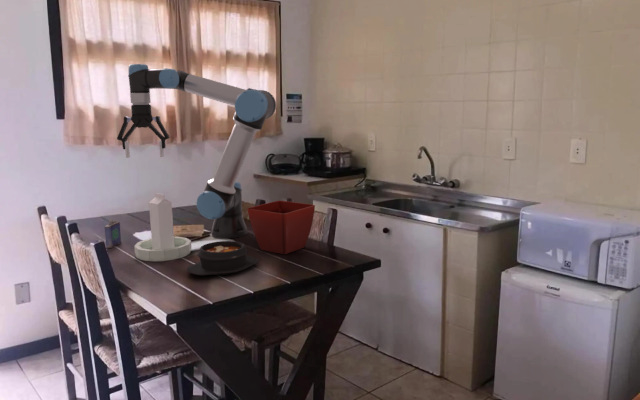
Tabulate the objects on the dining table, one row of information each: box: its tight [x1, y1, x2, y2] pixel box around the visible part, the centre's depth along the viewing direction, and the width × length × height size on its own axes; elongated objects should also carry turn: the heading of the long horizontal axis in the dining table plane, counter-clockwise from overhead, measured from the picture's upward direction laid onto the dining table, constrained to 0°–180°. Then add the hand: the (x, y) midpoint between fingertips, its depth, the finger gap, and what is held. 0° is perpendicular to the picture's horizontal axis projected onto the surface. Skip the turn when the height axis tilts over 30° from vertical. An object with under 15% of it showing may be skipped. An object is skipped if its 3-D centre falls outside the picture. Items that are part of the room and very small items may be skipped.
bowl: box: [133, 236, 192, 262], centre depth 200 cm, size 20×20×4 cm
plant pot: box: [247, 200, 316, 255], centre depth 203 cm, size 19×19×17 cm
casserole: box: [186, 240, 260, 277], centre depth 179 cm, size 25×19×8 cm
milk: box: [148, 192, 175, 250], centre depth 198 cm, size 6×6×22 cm
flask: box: [104, 218, 122, 249], centre depth 211 cm, size 9×3×11 cm, turn 172°
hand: (145, 157), depth 214 cm, fingers open, 13 cm apart
